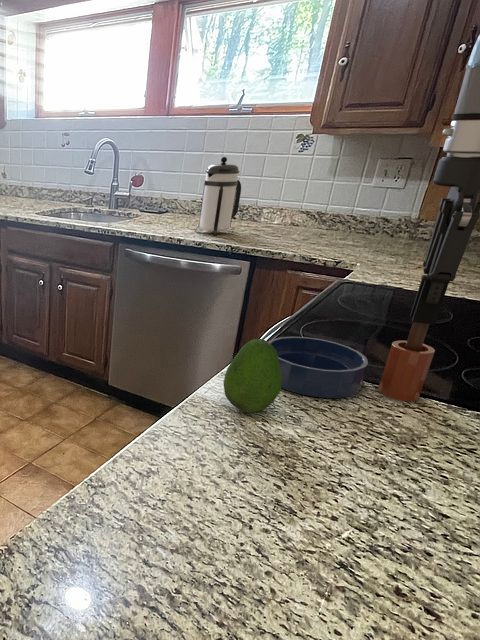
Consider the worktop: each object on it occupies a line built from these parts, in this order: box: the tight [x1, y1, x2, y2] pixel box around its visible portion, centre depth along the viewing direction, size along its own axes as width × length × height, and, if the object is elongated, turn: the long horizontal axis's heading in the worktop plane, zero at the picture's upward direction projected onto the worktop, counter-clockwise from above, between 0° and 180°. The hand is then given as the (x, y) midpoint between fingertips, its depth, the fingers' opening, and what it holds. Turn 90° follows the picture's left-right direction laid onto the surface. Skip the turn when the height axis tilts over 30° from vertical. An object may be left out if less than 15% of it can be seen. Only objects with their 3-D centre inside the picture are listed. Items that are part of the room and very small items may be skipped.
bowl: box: [268, 336, 369, 399], centre depth 90 cm, size 15×15×6 cm
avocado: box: [223, 338, 282, 413], centre depth 80 cm, size 8×8×12 cm
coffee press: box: [194, 156, 242, 237], centre depth 216 cm, size 17×16×30 cm
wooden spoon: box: [404, 248, 437, 352], centre depth 80 cm, size 3×2×24 cm, turn 149°
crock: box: [377, 340, 436, 402], centre depth 84 cm, size 5×6×9 cm
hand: (422, 319), depth 80 cm, fingers closed on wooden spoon, 2 cm apart
